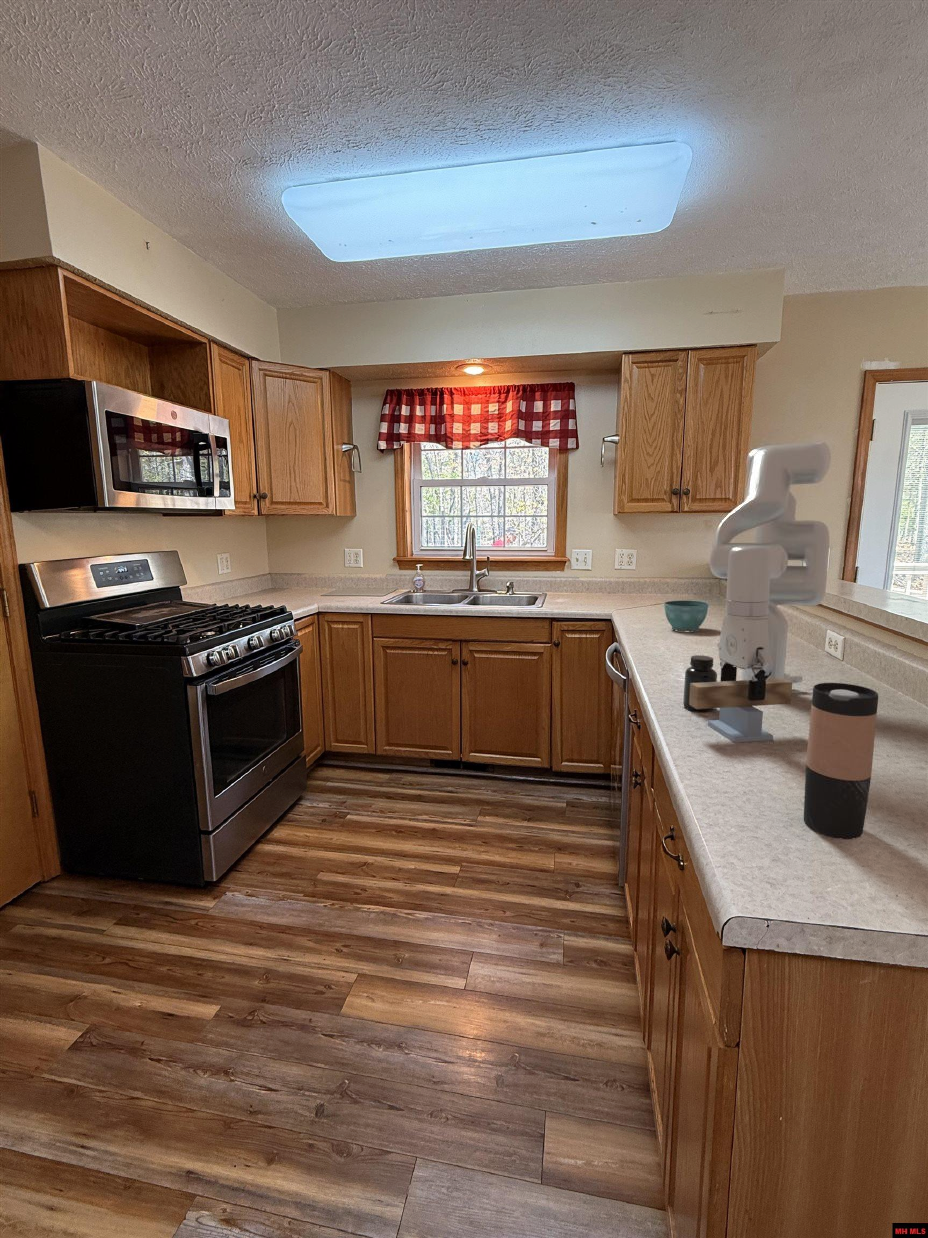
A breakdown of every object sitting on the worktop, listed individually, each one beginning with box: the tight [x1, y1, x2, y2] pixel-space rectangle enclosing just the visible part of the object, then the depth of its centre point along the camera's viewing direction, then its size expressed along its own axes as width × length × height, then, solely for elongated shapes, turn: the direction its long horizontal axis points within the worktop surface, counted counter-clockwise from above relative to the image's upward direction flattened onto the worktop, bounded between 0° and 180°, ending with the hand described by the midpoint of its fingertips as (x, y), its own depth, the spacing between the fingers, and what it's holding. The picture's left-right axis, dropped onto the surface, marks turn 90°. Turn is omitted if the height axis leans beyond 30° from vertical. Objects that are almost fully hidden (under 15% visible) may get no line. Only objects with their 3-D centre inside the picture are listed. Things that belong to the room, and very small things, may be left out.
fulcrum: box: [707, 706, 774, 744], centre depth 118 cm, size 8×10×6 cm
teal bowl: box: [663, 599, 709, 633], centre depth 225 cm, size 16×16×11 cm
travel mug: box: [803, 682, 879, 840], centre depth 80 cm, size 8×8×20 cm
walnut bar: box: [689, 678, 793, 709], centre depth 117 cm, size 20×3×4 cm, turn 96°
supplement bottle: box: [682, 654, 718, 713], centre depth 133 cm, size 7×7×12 cm
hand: (741, 692), depth 117 cm, fingers open, 9 cm apart
